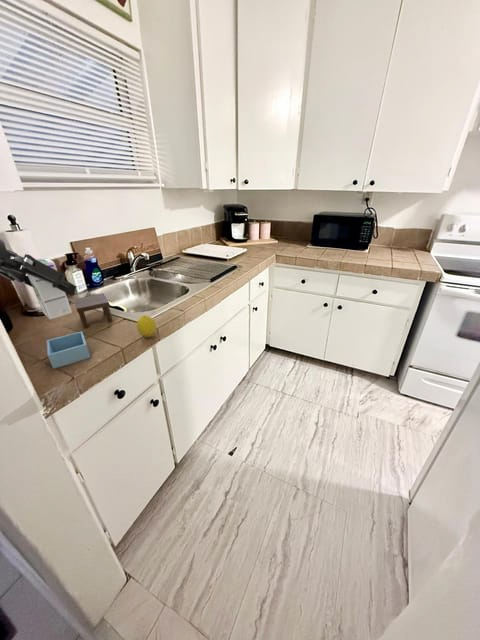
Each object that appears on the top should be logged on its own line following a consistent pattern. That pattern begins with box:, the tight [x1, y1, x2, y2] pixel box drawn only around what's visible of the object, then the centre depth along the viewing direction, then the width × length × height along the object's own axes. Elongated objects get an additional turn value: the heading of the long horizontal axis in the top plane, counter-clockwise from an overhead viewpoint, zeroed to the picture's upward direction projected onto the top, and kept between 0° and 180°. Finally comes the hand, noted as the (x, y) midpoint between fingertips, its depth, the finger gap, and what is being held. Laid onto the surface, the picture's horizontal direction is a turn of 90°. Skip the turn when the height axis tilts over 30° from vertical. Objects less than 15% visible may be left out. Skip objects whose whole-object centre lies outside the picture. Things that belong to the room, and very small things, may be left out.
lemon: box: [136, 314, 156, 338], centre depth 84 cm, size 6×6×8 cm
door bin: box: [46, 331, 91, 370], centre depth 76 cm, size 9×9×4 cm
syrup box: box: [26, 257, 73, 320], centre depth 68 cm, size 6×6×14 cm
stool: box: [73, 292, 114, 330], centre depth 94 cm, size 10×10×8 cm
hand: (60, 289), depth 72 cm, fingers closed on syrup box, 7 cm apart
